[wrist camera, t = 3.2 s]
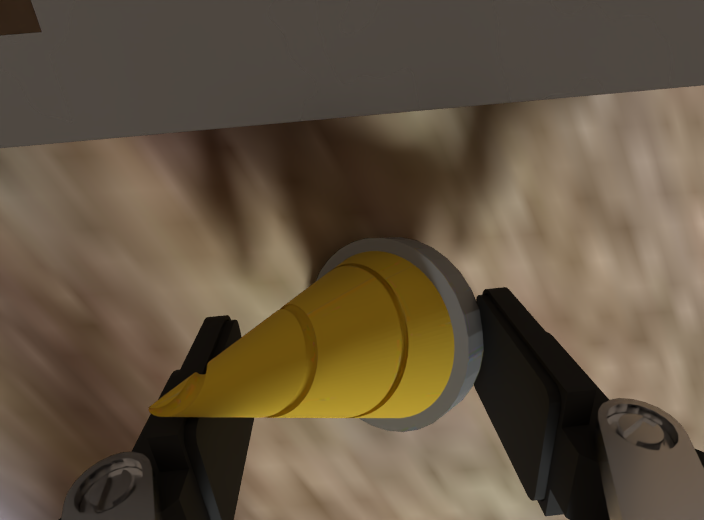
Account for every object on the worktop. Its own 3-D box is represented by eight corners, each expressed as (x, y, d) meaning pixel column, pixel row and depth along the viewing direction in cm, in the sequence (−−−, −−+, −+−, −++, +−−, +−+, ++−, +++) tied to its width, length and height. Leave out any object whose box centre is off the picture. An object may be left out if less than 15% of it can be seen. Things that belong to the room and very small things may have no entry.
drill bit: (384, 381, 16) (102, 525, 8) (370, 244, 16) (76, 260, 8) (528, 398, 13) (276, 671, 5) (509, 225, 13) (229, 221, 5)
